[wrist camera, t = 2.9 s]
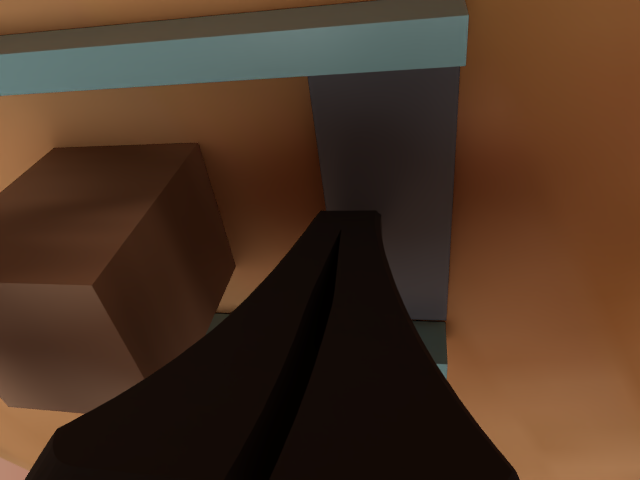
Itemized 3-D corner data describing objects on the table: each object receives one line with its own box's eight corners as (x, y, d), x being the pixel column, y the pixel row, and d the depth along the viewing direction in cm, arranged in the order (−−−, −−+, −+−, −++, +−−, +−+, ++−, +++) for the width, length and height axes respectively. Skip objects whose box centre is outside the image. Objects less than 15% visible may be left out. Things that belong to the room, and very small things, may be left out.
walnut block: (198, 141, 12) (91, 285, 8) (236, 265, 14) (167, 420, 10) (55, 147, 13) (-106, 280, 9) (113, 263, 15) (9, 406, 11)
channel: (462, -8, 9) (468, 15, 8) (444, 340, 15) (446, 382, 14) (-79, 42, 11) (-135, 65, 10) (91, 324, 17) (67, 358, 16)
